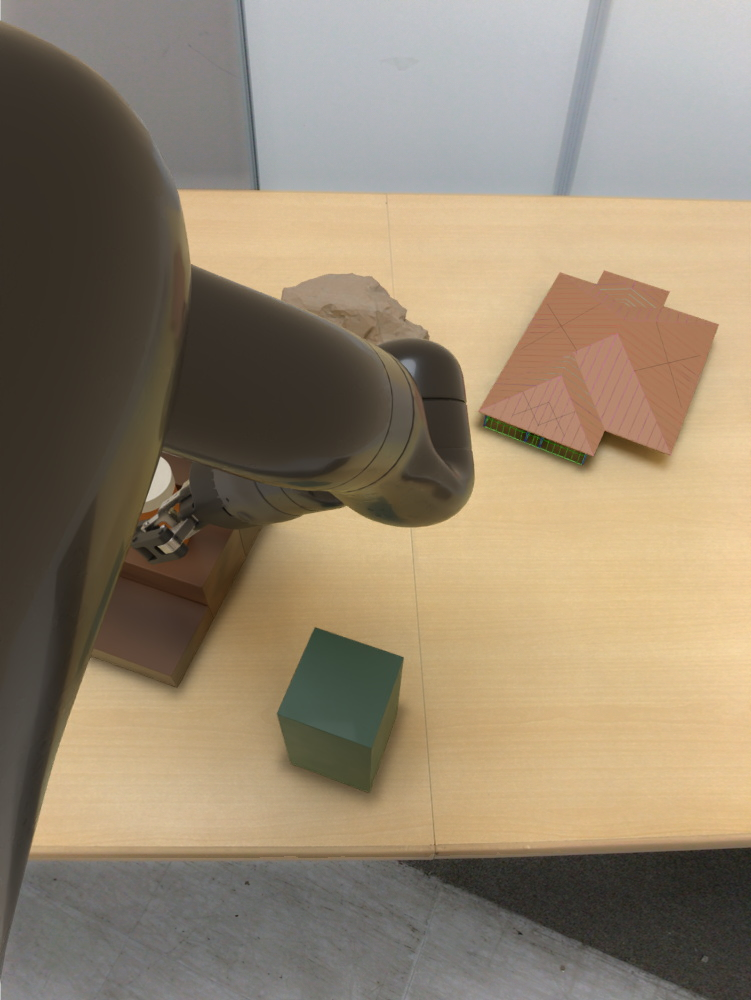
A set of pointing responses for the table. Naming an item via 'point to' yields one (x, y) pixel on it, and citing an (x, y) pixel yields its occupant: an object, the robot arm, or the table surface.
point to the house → (602, 366)
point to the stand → (341, 708)
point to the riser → (171, 599)
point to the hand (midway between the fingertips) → (170, 499)
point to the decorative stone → (355, 306)
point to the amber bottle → (160, 492)
